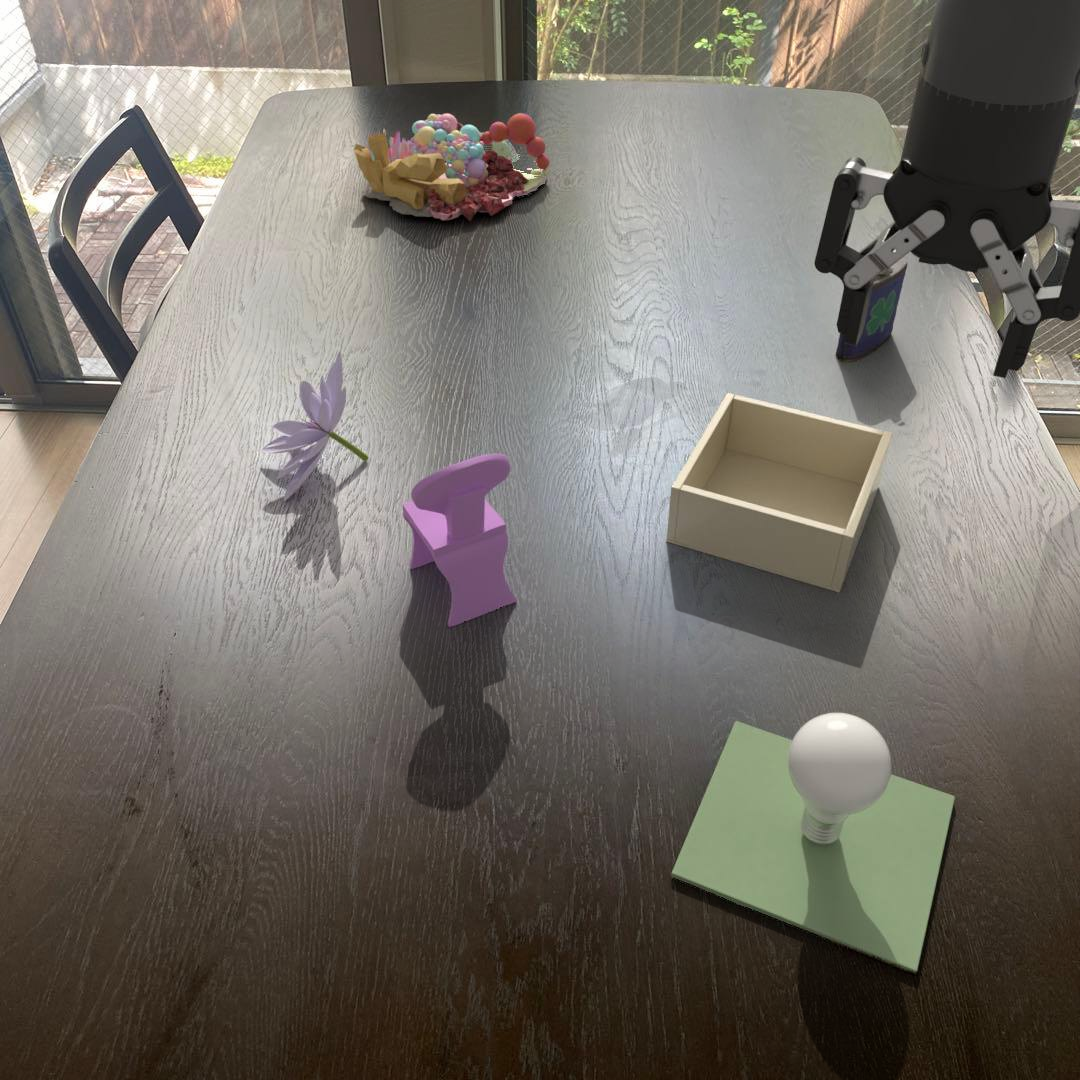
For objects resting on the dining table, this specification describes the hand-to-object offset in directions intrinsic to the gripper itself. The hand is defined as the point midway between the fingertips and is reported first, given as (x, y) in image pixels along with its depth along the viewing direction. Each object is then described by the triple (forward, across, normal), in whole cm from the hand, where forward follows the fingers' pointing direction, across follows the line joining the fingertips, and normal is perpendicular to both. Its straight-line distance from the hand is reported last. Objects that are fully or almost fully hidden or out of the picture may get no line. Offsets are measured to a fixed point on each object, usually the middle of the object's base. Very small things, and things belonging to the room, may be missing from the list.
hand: (925, 354), depth 64 cm
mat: (+30, -2, +14) cm, 33 cm away
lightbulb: (+30, -2, +14) cm, 33 cm away
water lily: (+30, +53, -7) cm, 61 cm away
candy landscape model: (+30, +71, -68) cm, 103 cm away
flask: (+30, +9, -50) cm, 59 cm away
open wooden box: (+30, +10, -18) cm, 36 cm away
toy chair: (+30, +32, +2) cm, 44 cm away
